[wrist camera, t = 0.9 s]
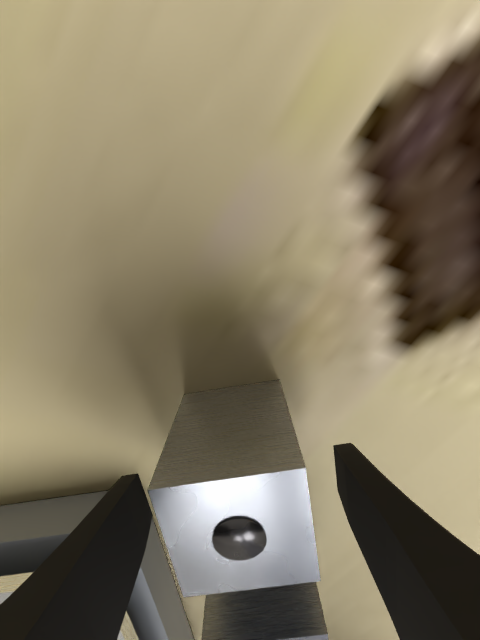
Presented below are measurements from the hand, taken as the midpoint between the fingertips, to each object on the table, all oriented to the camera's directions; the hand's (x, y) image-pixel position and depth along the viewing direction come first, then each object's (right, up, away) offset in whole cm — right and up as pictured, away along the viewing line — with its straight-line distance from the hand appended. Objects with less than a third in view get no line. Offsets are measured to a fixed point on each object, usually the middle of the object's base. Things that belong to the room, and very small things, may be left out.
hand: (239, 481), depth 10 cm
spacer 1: (0, +1, +3) cm, 3 cm away
